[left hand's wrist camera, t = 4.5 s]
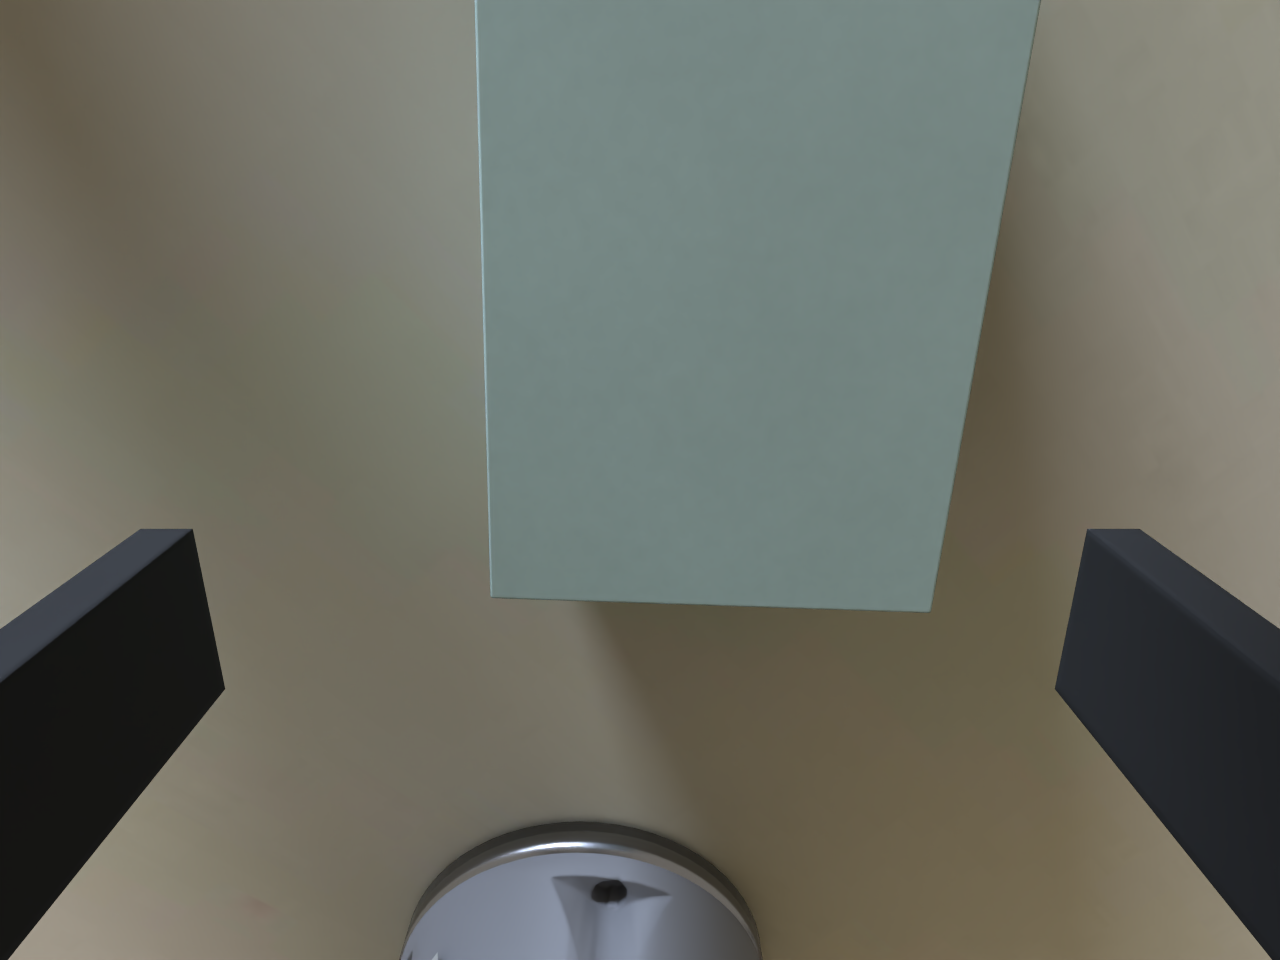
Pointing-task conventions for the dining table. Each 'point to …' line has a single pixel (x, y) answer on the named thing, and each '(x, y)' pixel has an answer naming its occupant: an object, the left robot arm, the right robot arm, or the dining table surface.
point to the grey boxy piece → (736, 290)
